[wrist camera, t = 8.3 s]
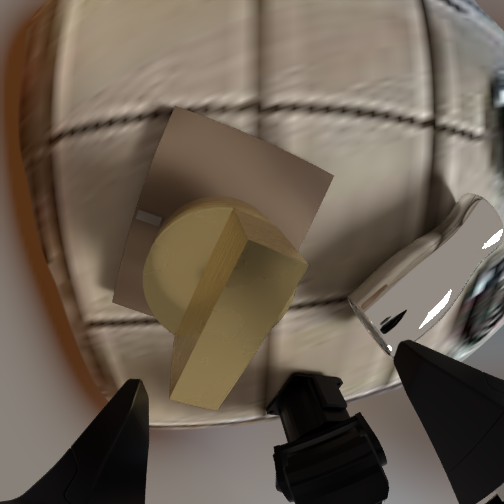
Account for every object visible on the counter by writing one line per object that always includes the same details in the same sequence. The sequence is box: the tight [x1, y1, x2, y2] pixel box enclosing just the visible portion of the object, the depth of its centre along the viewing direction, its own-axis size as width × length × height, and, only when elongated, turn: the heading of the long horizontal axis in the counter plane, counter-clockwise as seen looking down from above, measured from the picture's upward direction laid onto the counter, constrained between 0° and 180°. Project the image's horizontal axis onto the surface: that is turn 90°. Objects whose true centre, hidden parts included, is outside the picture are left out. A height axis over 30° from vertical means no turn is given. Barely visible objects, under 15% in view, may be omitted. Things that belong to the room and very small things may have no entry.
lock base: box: [112, 106, 334, 317], centre depth 18 cm, size 14×11×4 cm
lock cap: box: [143, 196, 309, 411], centre depth 12 cm, size 8×7×7 cm
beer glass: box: [347, 193, 504, 359], centre depth 20 cm, size 7×7×15 cm
